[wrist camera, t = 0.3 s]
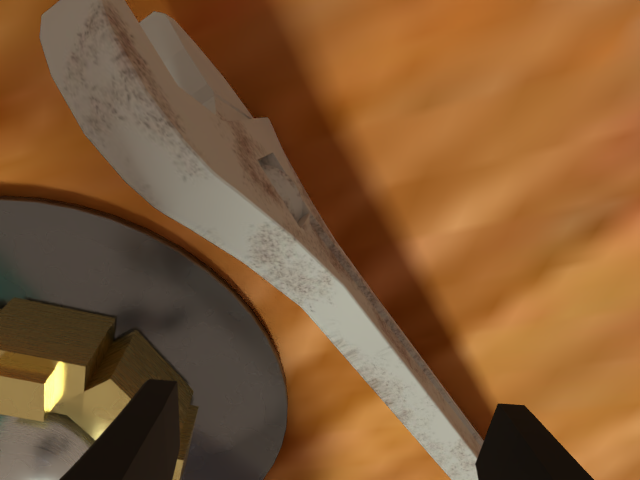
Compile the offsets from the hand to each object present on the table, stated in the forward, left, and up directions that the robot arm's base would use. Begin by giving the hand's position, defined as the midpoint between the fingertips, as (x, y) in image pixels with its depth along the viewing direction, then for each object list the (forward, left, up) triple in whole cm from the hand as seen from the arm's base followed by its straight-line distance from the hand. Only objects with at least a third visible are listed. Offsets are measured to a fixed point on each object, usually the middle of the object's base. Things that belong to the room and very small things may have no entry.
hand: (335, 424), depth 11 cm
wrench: (-3, -3, -10) cm, 11 cm away
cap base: (-12, +10, -10) cm, 19 cm away
